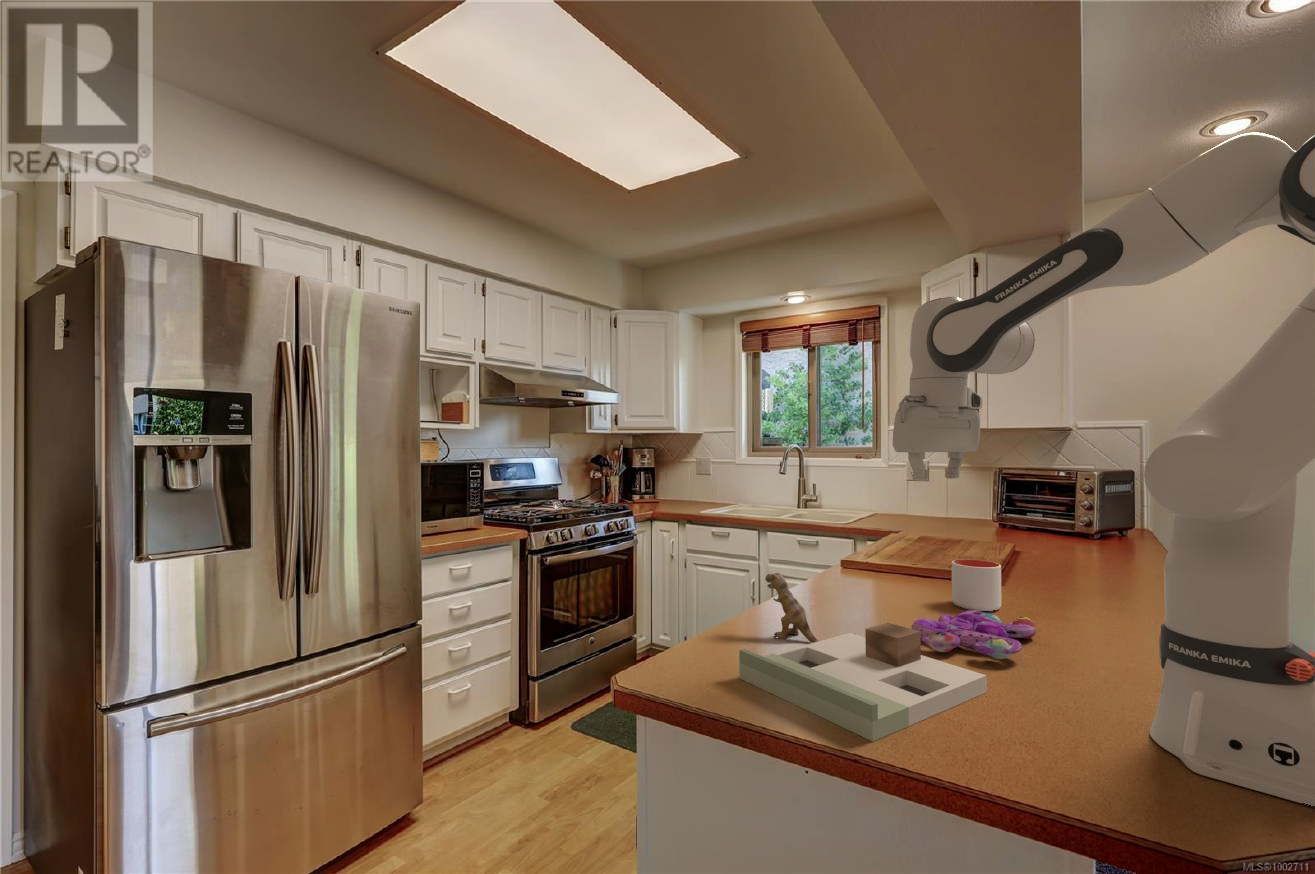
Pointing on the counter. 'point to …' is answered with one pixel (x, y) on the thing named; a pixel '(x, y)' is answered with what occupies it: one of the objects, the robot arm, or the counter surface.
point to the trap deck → (860, 684)
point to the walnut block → (893, 644)
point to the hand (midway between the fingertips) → (936, 479)
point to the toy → (789, 609)
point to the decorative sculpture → (975, 633)
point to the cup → (976, 584)
